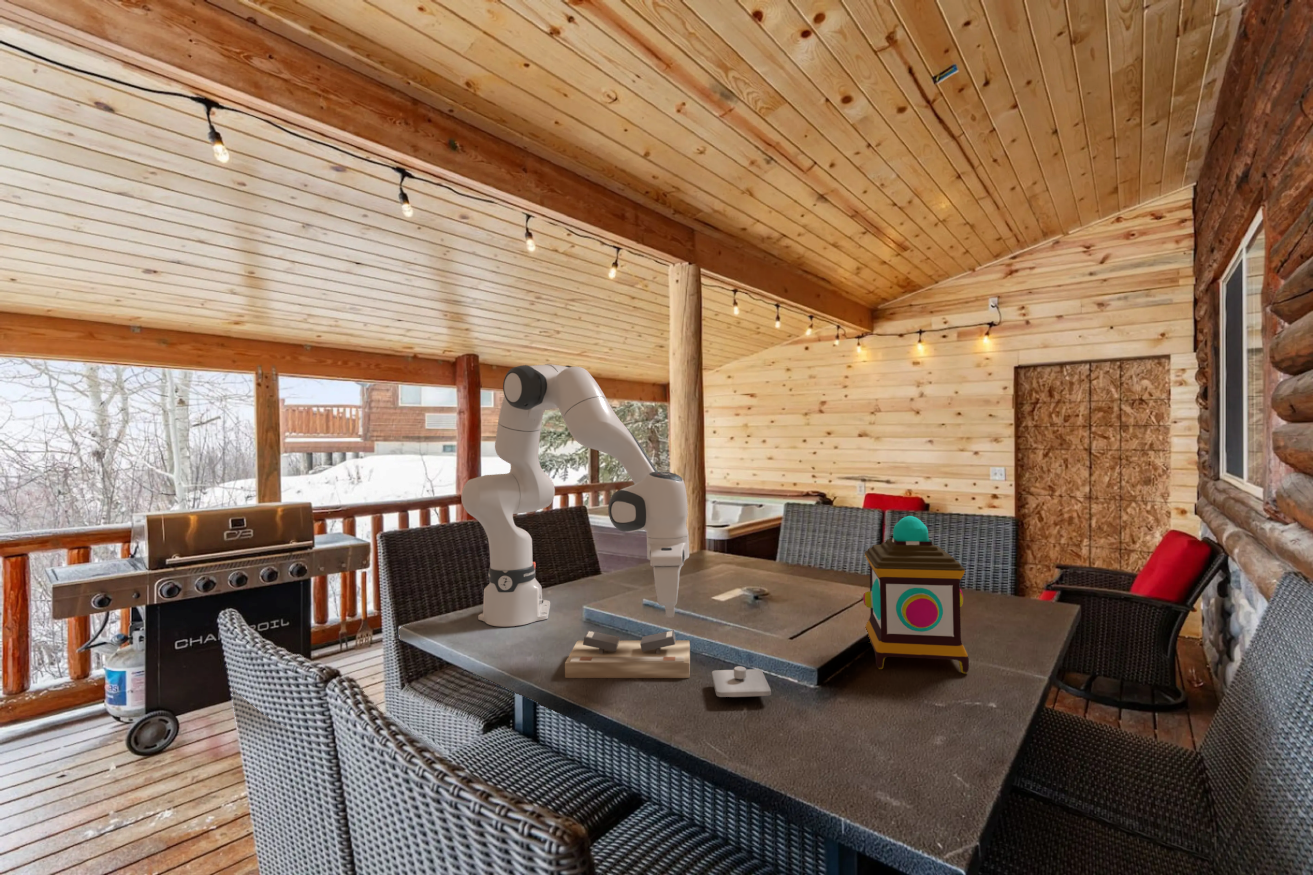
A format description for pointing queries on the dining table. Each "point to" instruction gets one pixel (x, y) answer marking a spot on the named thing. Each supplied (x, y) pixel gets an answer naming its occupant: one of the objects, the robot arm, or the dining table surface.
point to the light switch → (740, 683)
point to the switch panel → (629, 661)
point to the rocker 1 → (601, 640)
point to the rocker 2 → (658, 640)
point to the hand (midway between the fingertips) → (670, 615)
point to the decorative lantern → (914, 598)
